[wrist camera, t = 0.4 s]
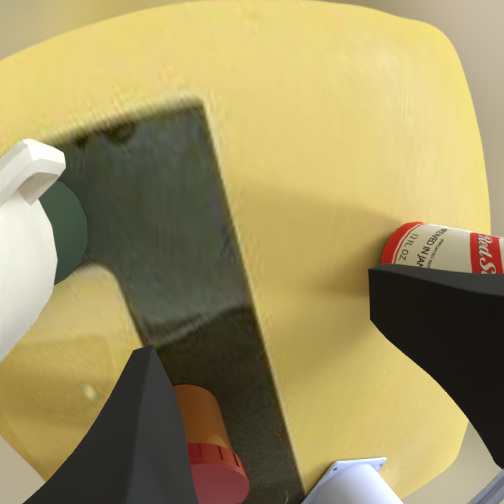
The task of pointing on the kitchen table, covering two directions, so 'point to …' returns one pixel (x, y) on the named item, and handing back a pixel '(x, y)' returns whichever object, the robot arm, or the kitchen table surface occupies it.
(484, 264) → the beer can
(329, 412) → the kitchen table surface
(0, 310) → the character mug
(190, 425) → the jam jar
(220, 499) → the jar lid
